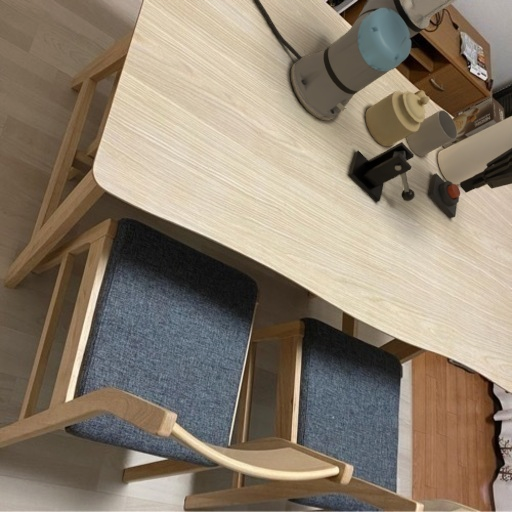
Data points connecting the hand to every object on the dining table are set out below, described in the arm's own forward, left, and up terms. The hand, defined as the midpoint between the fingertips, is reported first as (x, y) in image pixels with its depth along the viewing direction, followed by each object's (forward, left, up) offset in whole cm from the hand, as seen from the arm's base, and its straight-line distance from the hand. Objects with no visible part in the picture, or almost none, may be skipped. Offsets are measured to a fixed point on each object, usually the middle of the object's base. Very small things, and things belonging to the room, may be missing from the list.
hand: (463, 187), depth 150 cm
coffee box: (0, +24, -7) cm, 25 cm away
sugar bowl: (-27, +4, -7) cm, 28 cm away
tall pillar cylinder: (+1, +13, -7) cm, 15 cm away
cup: (-13, +10, -7) cm, 18 cm away
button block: (0, 0, -7) cm, 7 cm away
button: (0, 0, -4) cm, 4 cm away
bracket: (-27, -17, -7) cm, 33 cm away
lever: (-23, -17, -1) cm, 29 cm away
